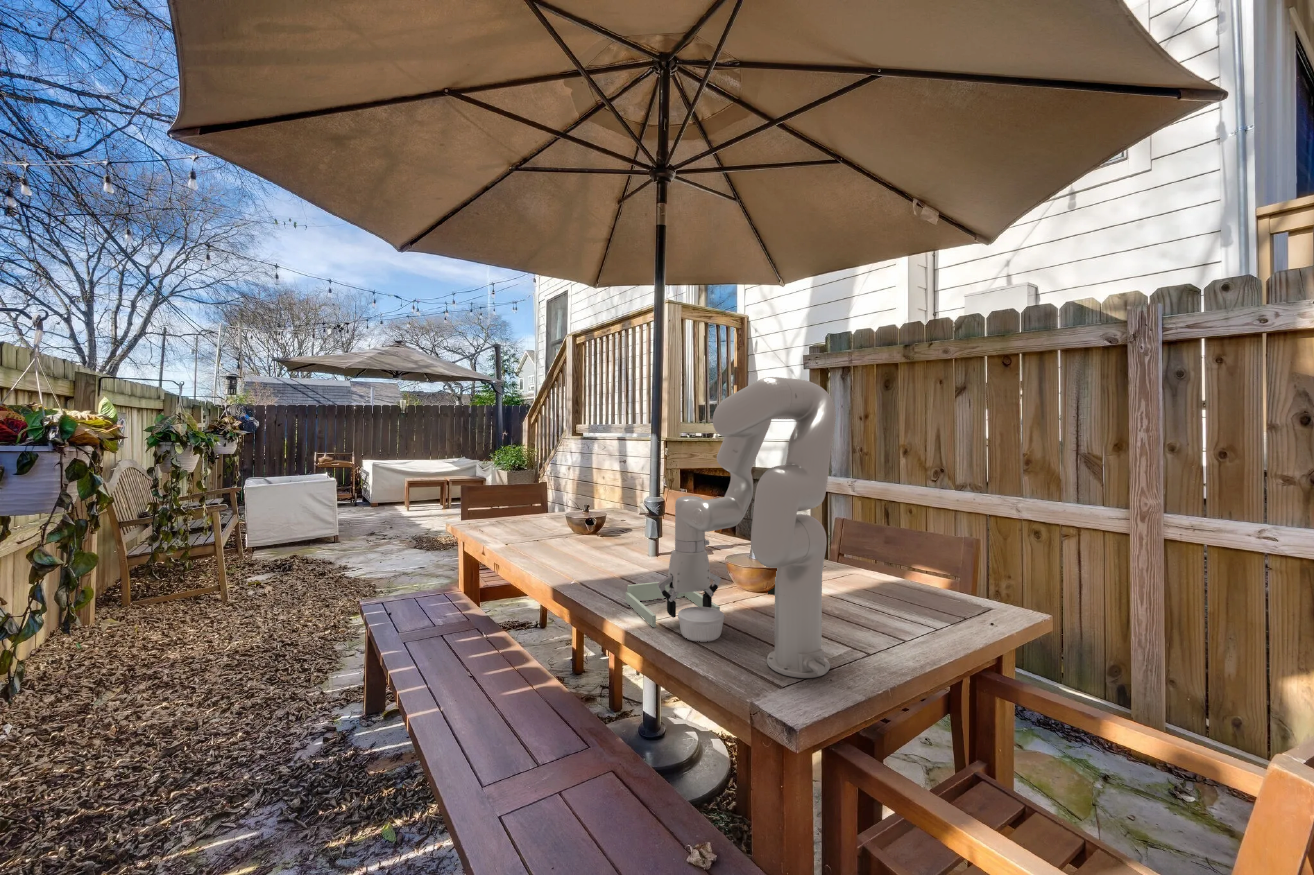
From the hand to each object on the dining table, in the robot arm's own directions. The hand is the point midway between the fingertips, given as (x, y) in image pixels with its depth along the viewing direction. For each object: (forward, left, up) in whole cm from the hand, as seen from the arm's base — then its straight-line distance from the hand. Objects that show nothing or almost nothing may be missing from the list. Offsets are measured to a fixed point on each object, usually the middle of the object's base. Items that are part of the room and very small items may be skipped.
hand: (689, 613), depth 138 cm
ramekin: (-7, 0, -3) cm, 8 cm away
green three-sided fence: (+12, 0, -3) cm, 13 cm away
